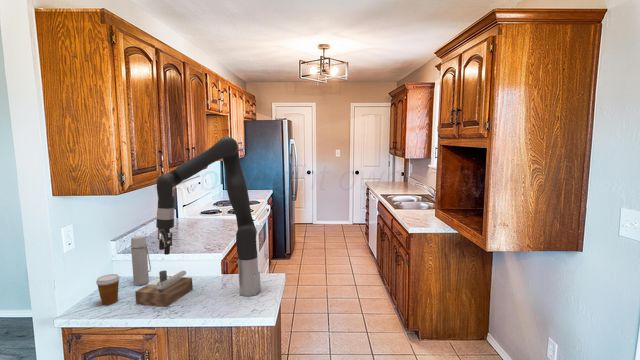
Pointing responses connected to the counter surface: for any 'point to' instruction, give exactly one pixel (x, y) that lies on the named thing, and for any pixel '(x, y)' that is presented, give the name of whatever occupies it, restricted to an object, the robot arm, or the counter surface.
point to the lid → (161, 280)
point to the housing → (164, 293)
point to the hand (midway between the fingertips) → (164, 251)
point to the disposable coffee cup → (108, 288)
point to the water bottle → (140, 260)
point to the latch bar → (170, 280)
